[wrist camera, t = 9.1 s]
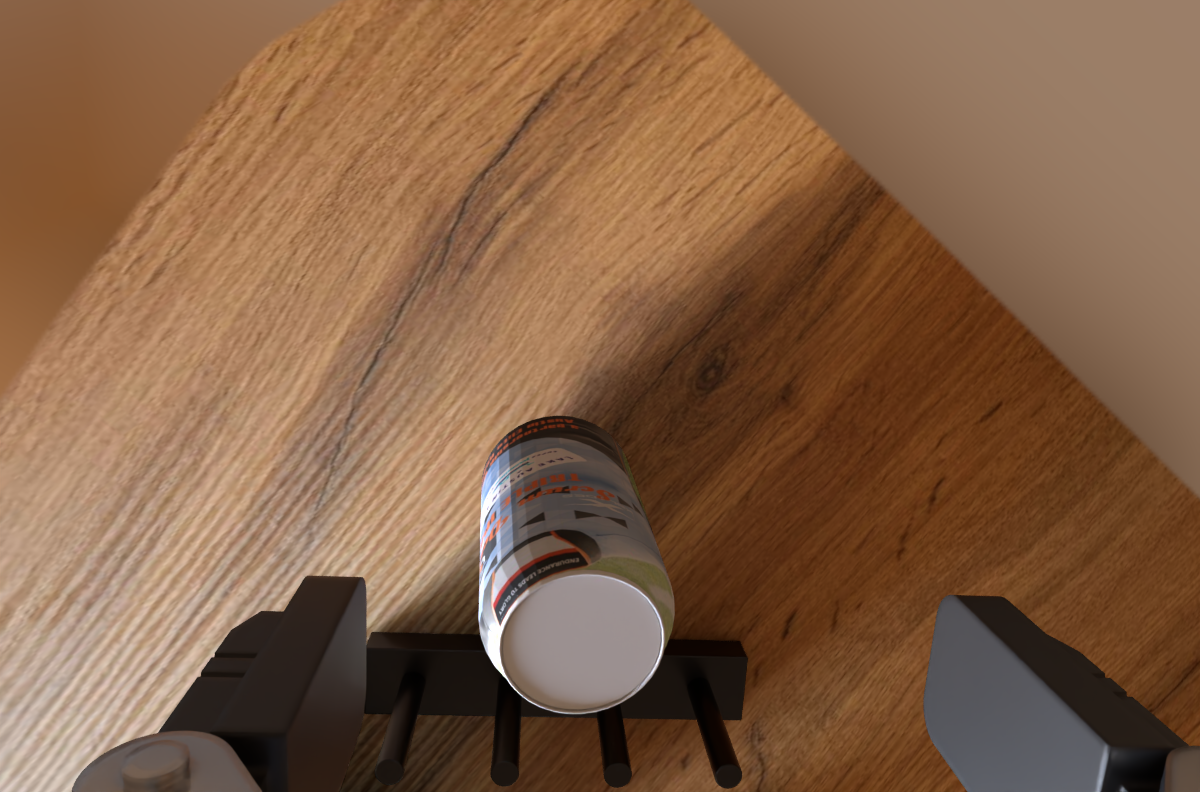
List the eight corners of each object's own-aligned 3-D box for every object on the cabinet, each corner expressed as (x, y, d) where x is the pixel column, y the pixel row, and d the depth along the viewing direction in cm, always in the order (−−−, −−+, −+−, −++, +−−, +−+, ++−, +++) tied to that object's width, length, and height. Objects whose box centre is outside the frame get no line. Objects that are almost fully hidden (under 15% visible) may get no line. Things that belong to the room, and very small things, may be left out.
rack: (371, 631, 37) (330, 733, 30) (740, 640, 38) (788, 740, 31) (370, 695, 38) (330, 810, 30) (734, 702, 39) (779, 814, 32)
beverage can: (585, 381, 36) (608, 462, 24) (668, 528, 37) (728, 673, 25) (451, 454, 36) (409, 571, 24) (539, 598, 37) (540, 774, 26)
